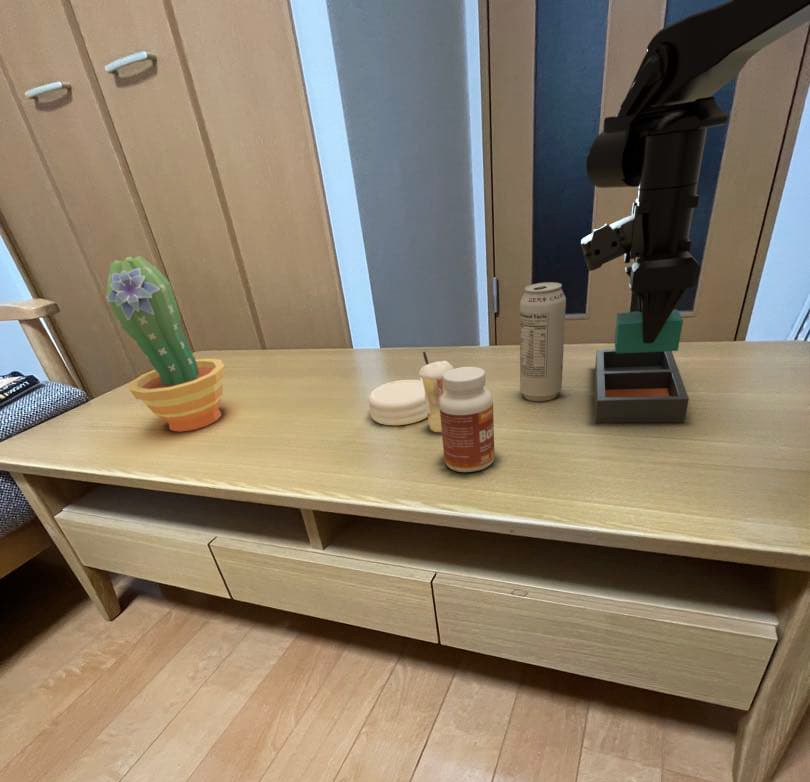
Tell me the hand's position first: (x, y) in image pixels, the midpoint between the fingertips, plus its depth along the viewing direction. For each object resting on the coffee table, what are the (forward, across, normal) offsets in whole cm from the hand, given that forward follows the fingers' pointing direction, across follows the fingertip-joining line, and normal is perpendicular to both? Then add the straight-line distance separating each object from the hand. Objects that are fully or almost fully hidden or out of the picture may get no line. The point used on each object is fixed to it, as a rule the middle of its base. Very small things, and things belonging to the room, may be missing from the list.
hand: (646, 336), depth 64 cm
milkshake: (+10, +6, -26) cm, 28 cm away
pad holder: (+9, -5, 0) cm, 11 cm away
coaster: (+10, +1, -33) cm, 34 cm away
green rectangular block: (+1, 0, 0) cm, 1 cm away
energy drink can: (+10, -5, -13) cm, 17 cm away
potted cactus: (+10, +3, -70) cm, 71 cm away
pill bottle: (+10, +16, -20) cm, 27 cm away
